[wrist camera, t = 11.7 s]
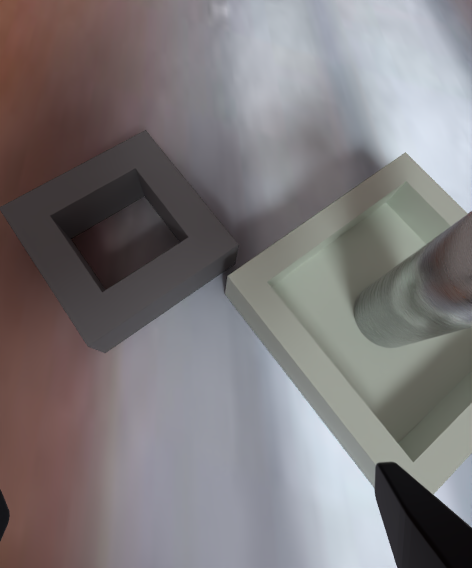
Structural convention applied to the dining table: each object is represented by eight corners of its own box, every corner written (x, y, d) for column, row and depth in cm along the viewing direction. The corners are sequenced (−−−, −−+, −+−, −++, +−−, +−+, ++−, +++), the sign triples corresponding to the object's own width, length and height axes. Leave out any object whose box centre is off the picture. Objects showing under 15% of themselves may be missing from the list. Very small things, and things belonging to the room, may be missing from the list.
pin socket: (234, 263, 22) (238, 244, 19) (105, 353, 20) (87, 346, 17) (153, 161, 24) (145, 130, 21) (26, 232, 22) (-2, 207, 19)
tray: (529, 339, 22) (585, 330, 19) (378, 493, 19) (414, 514, 15) (379, 184, 25) (405, 152, 22) (224, 294, 22) (227, 275, 18)
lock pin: (445, 353, 20) (799, 285, 8) (355, 369, 20) (589, 323, 7) (414, 265, 22) (668, 97, 10) (330, 278, 21) (487, 116, 9)
